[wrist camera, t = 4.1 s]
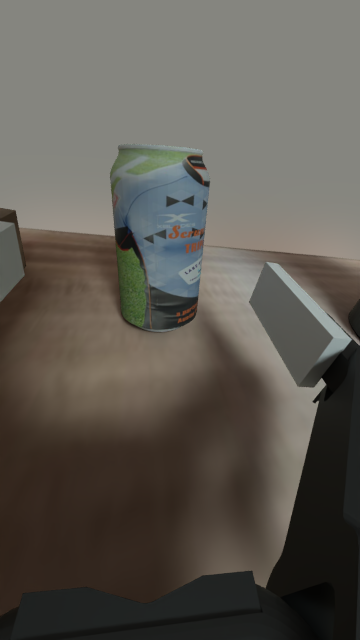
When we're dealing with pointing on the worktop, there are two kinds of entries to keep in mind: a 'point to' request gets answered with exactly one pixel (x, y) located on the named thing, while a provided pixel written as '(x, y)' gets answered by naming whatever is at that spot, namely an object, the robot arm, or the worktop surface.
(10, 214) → the riser
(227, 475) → the worktop surface
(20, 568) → the worktop surface
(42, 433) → the worktop surface
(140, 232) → the beverage can
